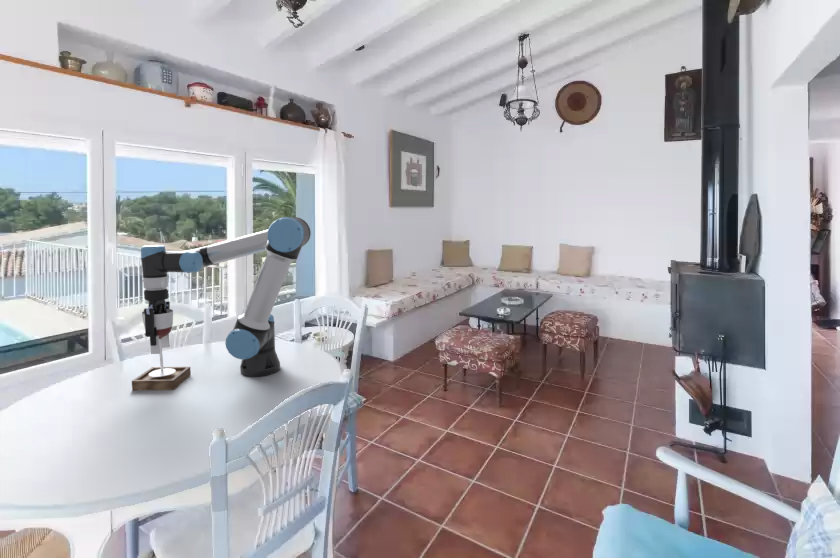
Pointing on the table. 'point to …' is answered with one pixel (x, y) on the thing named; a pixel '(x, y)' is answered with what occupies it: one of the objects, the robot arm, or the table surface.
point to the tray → (161, 379)
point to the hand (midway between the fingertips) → (160, 350)
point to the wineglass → (163, 328)
